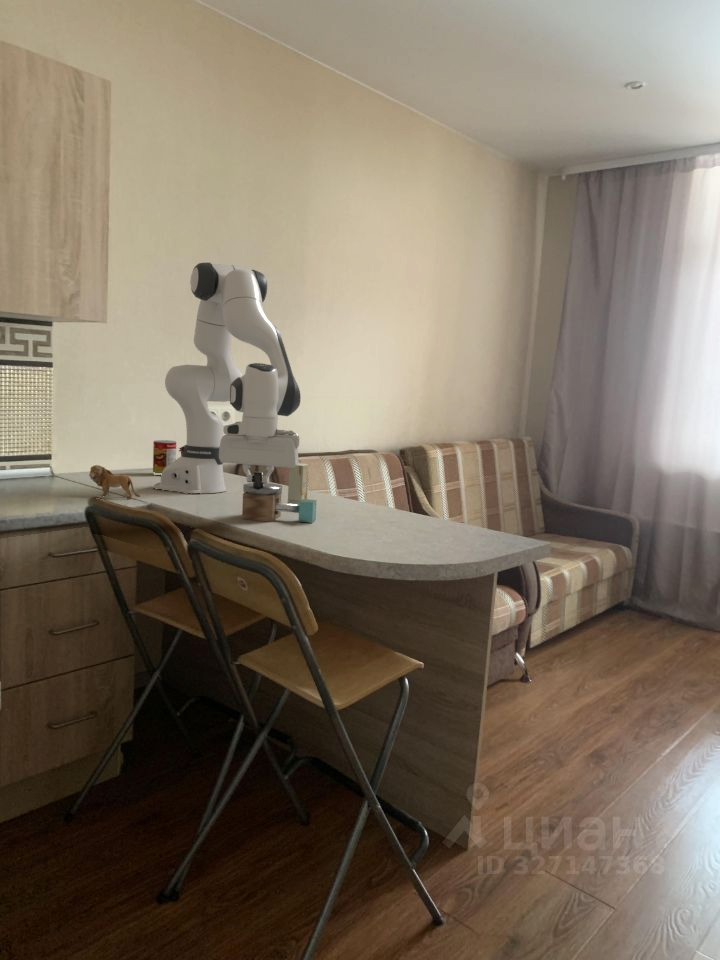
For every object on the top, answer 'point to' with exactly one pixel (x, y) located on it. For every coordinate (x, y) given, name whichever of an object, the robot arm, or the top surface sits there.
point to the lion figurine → (111, 480)
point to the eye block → (260, 507)
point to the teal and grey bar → (300, 509)
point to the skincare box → (298, 483)
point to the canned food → (163, 454)
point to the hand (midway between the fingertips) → (257, 482)
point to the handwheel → (261, 486)
